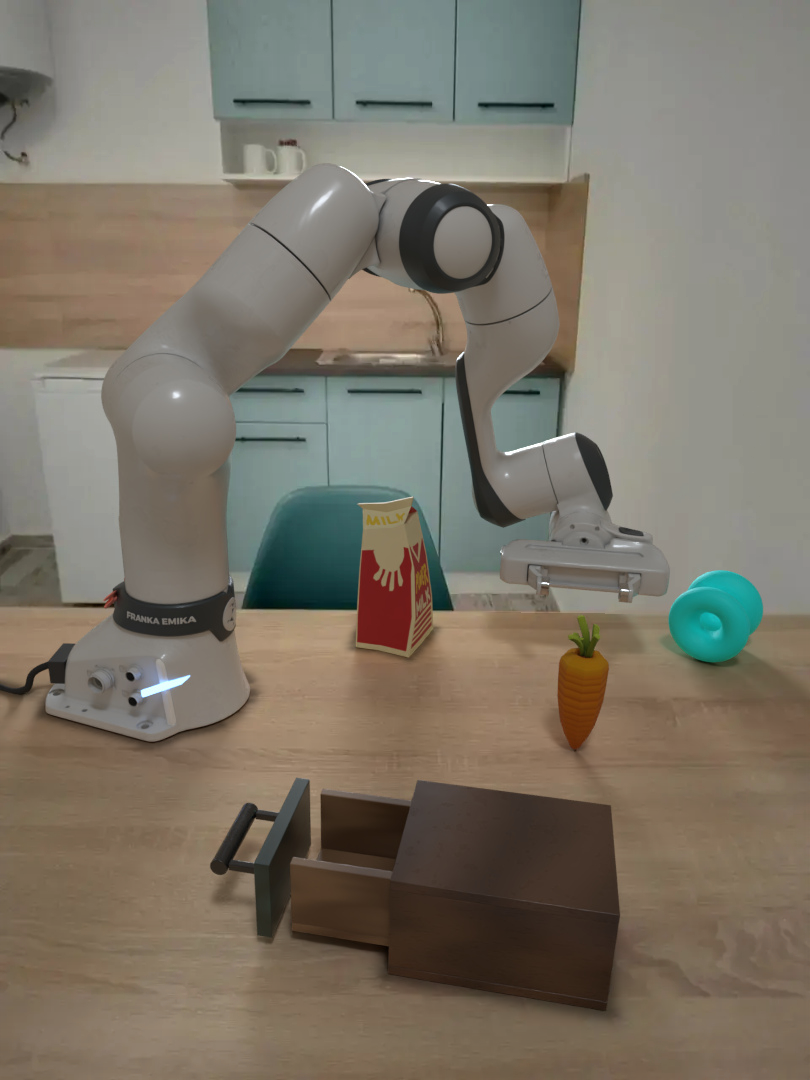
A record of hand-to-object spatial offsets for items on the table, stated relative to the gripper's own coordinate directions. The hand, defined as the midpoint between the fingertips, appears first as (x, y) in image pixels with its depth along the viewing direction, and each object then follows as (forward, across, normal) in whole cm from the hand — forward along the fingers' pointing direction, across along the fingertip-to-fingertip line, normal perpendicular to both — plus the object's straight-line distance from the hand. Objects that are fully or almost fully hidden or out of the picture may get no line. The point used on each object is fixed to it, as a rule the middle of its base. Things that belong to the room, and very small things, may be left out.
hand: (584, 593), depth 95 cm
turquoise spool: (-14, +18, +13) cm, 26 cm away
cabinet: (+39, -6, +12) cm, 41 cm away
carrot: (+13, 0, +13) cm, 18 cm away
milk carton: (-8, -24, +12) cm, 28 cm away
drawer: (+39, -19, +11) cm, 45 cm away
